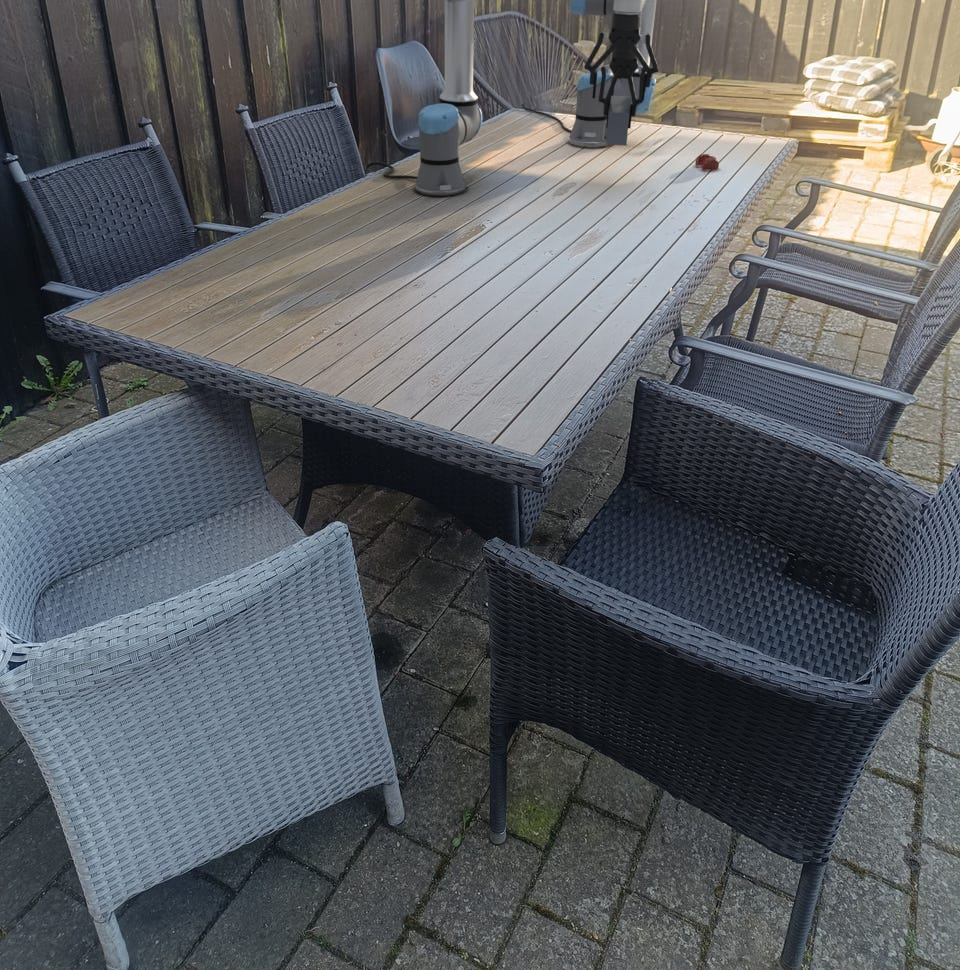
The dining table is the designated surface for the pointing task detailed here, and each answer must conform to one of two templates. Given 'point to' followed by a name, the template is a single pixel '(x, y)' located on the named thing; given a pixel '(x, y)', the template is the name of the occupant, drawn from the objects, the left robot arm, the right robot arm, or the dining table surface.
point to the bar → (618, 120)
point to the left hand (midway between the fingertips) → (618, 98)
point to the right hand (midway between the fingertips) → (618, 126)
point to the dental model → (707, 162)
